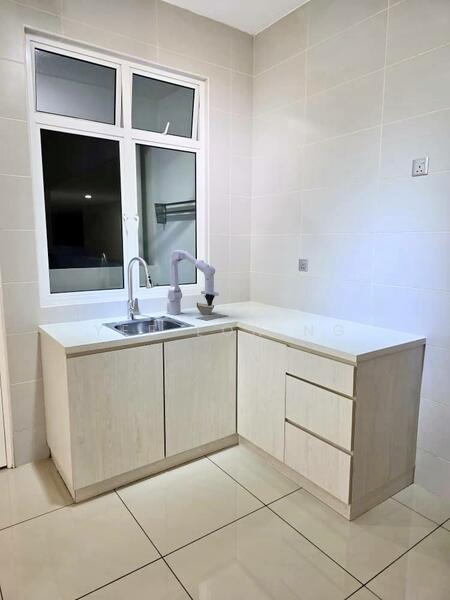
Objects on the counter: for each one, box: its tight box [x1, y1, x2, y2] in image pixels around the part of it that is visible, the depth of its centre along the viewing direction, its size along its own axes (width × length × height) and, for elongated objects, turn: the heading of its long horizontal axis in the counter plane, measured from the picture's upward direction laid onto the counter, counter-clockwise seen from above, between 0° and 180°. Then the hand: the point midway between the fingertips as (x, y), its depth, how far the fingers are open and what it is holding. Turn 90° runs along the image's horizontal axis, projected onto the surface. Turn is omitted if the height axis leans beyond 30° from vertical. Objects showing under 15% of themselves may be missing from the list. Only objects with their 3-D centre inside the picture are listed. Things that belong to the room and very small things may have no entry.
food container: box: [196, 302, 215, 316], centre depth 268 cm, size 12×6×10 cm
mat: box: [195, 313, 229, 321], centre depth 256 cm, size 10×20×1 cm, turn 136°
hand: (209, 305), depth 257 cm, fingers closed
